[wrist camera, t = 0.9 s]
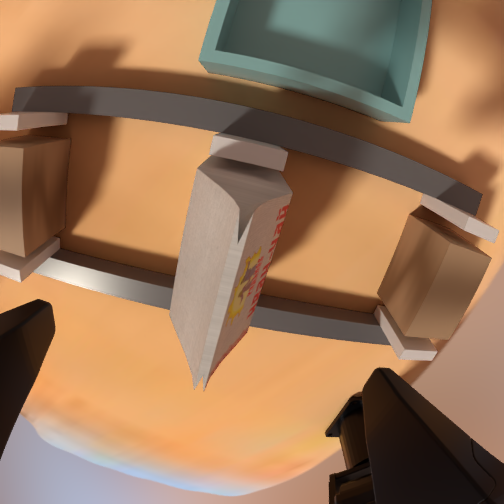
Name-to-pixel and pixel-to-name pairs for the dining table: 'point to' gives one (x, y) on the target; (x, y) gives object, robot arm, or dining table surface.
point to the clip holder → (250, 151)
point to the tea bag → (225, 257)
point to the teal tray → (325, 49)
